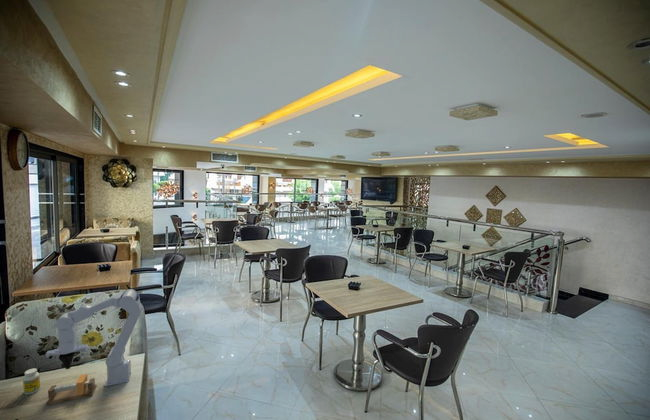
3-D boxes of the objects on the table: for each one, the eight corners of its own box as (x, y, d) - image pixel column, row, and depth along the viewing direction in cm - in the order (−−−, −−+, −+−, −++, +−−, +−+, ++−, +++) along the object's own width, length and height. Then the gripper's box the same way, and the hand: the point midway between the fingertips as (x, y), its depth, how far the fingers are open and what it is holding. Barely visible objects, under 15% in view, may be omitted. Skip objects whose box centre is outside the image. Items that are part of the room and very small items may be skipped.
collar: (87, 385, 140) (87, 373, 139) (83, 394, 135) (82, 382, 134) (81, 387, 139) (80, 375, 139) (76, 395, 134) (76, 383, 133)
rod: (94, 383, 139) (94, 378, 139) (92, 386, 137) (92, 381, 137) (51, 391, 133) (50, 386, 133) (49, 394, 131) (48, 390, 131)
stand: (96, 385, 142) (96, 375, 141) (92, 396, 136) (91, 385, 135) (53, 394, 136) (52, 383, 135) (46, 405, 129) (45, 394, 129)
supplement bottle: (41, 385, 141) (40, 365, 140) (38, 392, 137) (37, 372, 135) (25, 389, 138) (24, 369, 137) (22, 396, 134) (21, 376, 132)
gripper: (89, 332, 143) (90, 359, 145) (50, 338, 137) (51, 366, 139) (84, 340, 137) (86, 368, 139) (43, 346, 131) (45, 375, 133)
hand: (68, 367), depth 138 cm, fingers closed
